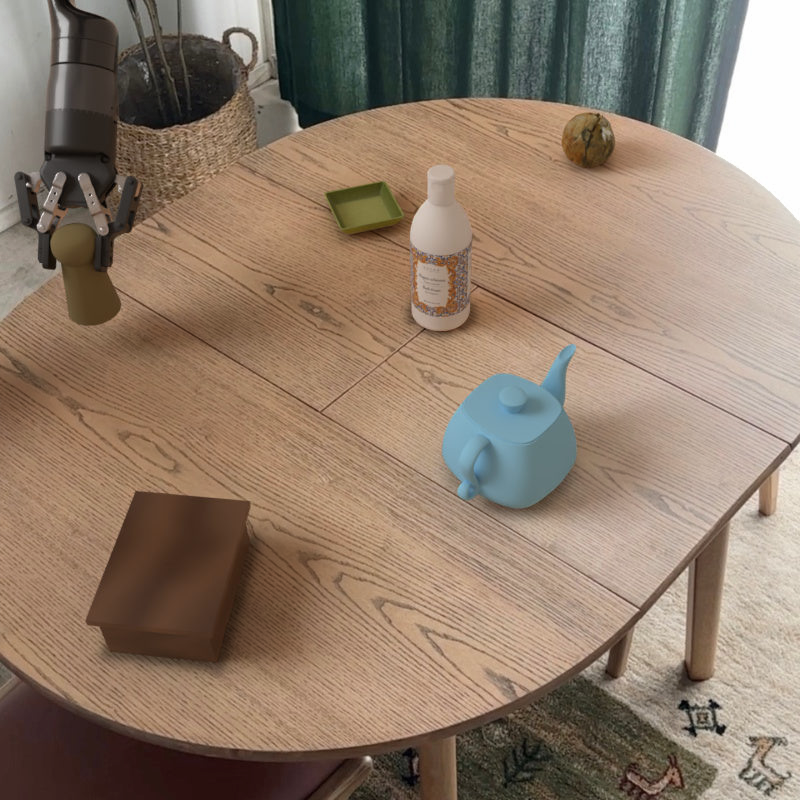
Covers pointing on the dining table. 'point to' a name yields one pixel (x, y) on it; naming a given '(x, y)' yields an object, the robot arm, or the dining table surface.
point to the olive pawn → (84, 276)
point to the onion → (588, 140)
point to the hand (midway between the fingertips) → (75, 269)
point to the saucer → (364, 207)
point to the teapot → (512, 438)
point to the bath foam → (440, 256)
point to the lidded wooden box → (172, 576)
